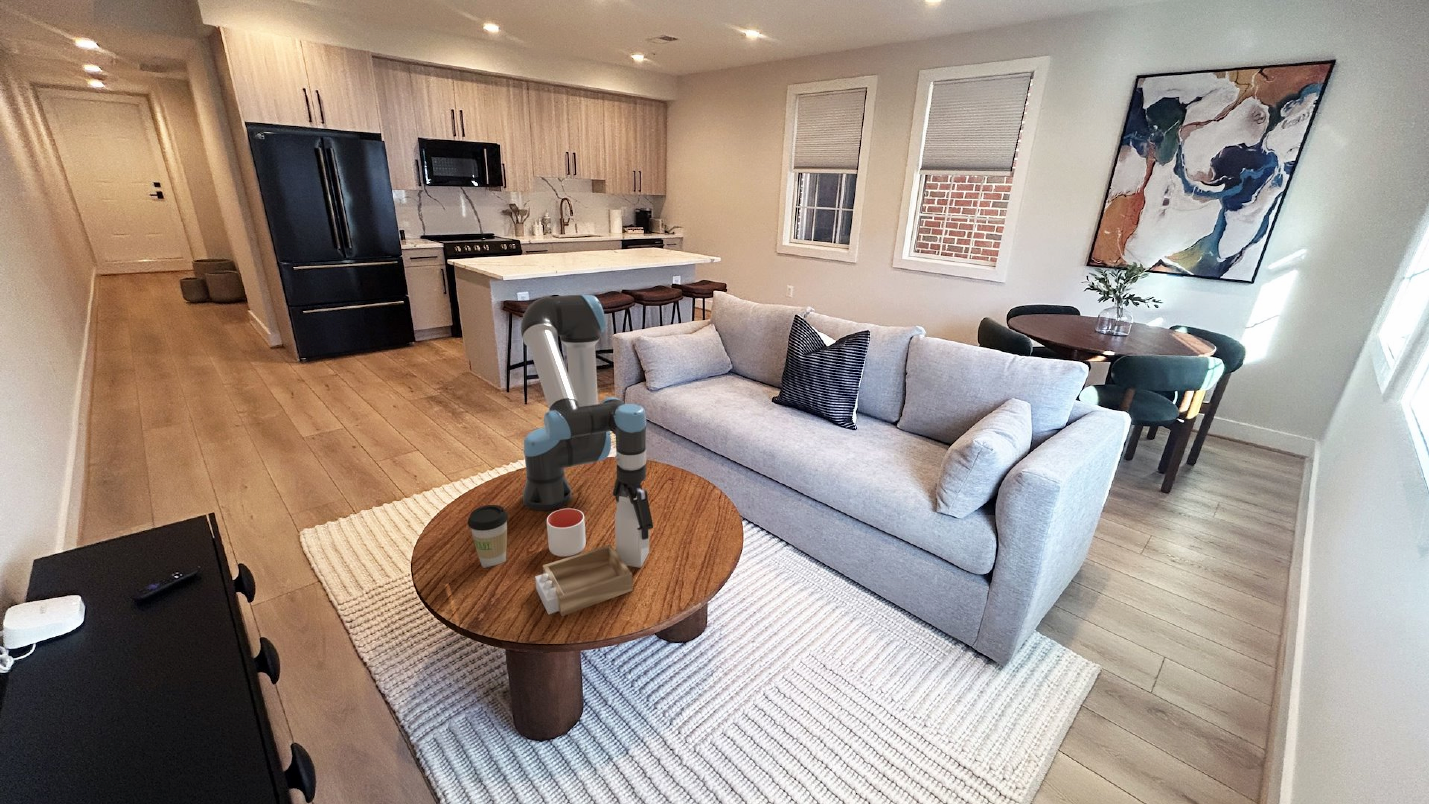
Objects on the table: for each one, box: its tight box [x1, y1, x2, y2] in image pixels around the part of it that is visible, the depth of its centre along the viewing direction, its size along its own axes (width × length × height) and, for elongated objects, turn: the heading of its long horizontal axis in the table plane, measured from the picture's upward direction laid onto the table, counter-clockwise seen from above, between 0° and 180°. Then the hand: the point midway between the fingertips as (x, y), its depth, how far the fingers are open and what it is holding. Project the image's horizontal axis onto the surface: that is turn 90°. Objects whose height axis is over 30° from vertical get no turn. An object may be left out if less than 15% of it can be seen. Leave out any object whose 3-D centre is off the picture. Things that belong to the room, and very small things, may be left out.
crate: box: [542, 544, 634, 617], centre depth 138 cm, size 14×18×6 cm
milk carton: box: [614, 496, 650, 569], centre depth 148 cm, size 7×7×19 cm
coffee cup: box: [467, 504, 509, 569], centre depth 146 cm, size 10×10×15 cm
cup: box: [546, 508, 587, 557], centre depth 153 cm, size 10×10×10 cm
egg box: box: [534, 571, 564, 616], centre depth 133 cm, size 10×4×5 cm, turn 32°
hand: (632, 534), depth 149 cm, fingers open, 13 cm apart
